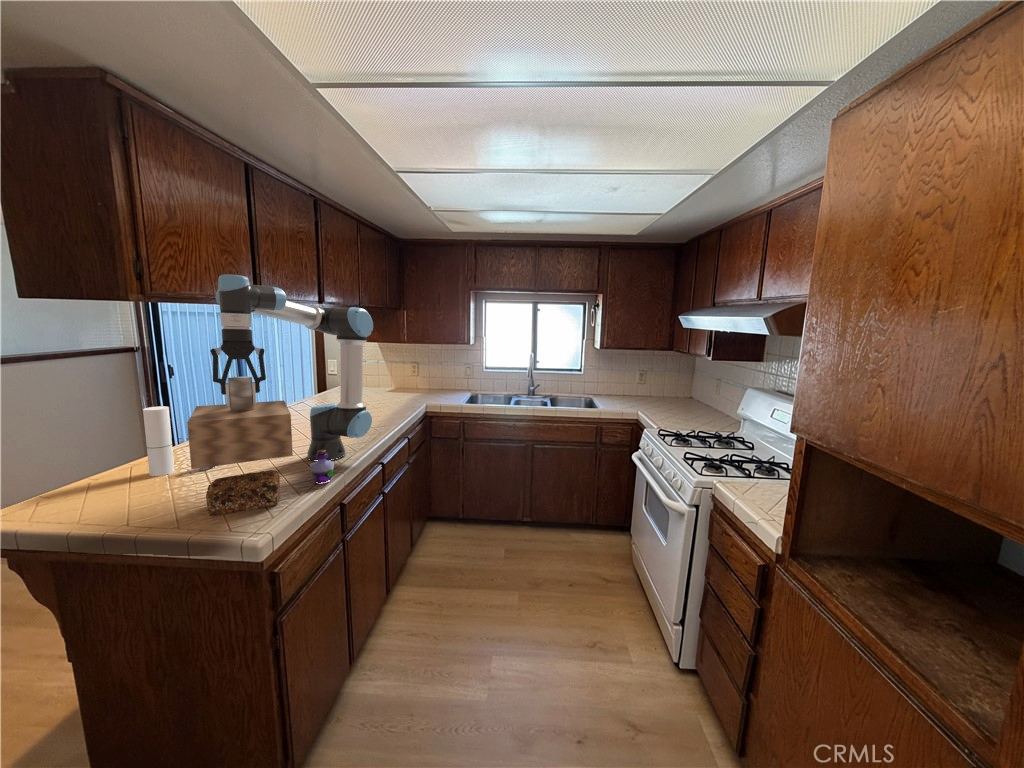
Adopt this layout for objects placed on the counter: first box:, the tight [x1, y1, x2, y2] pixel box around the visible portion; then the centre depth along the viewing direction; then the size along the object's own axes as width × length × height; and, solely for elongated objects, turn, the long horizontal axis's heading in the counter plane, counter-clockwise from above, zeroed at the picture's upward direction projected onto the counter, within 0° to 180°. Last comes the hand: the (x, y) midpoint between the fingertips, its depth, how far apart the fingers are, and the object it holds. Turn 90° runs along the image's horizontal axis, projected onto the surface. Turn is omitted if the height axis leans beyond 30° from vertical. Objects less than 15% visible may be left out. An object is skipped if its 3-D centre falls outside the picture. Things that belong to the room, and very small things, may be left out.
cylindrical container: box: [142, 405, 176, 477], centre depth 149 cm, size 7×7×25 cm
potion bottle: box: [309, 450, 335, 483], centre depth 146 cm, size 9×9×12 cm
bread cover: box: [186, 376, 294, 470], centre depth 123 cm, size 24×24×23 cm
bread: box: [205, 469, 281, 517], centre depth 126 cm, size 19×11×10 cm, turn 116°
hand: (241, 403), depth 123 cm, fingers closed on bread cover, 6 cm apart
